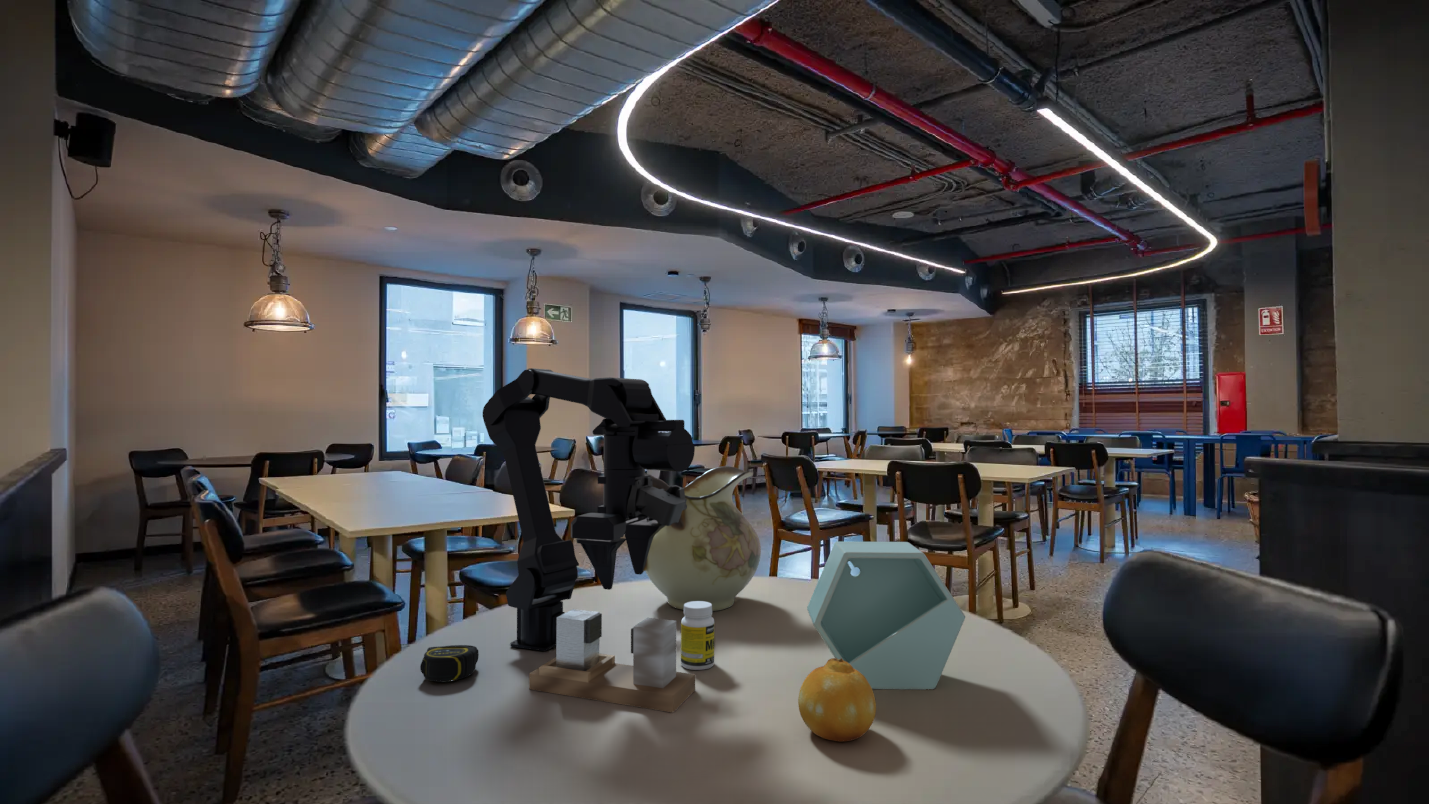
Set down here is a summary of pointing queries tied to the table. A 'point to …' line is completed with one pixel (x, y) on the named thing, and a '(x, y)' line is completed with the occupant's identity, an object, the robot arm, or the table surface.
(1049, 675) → the table surface
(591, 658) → the grey rectangular block
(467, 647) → the tape measure
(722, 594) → the pitcher
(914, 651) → the planter
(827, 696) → the fruit
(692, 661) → the supplement bottle
